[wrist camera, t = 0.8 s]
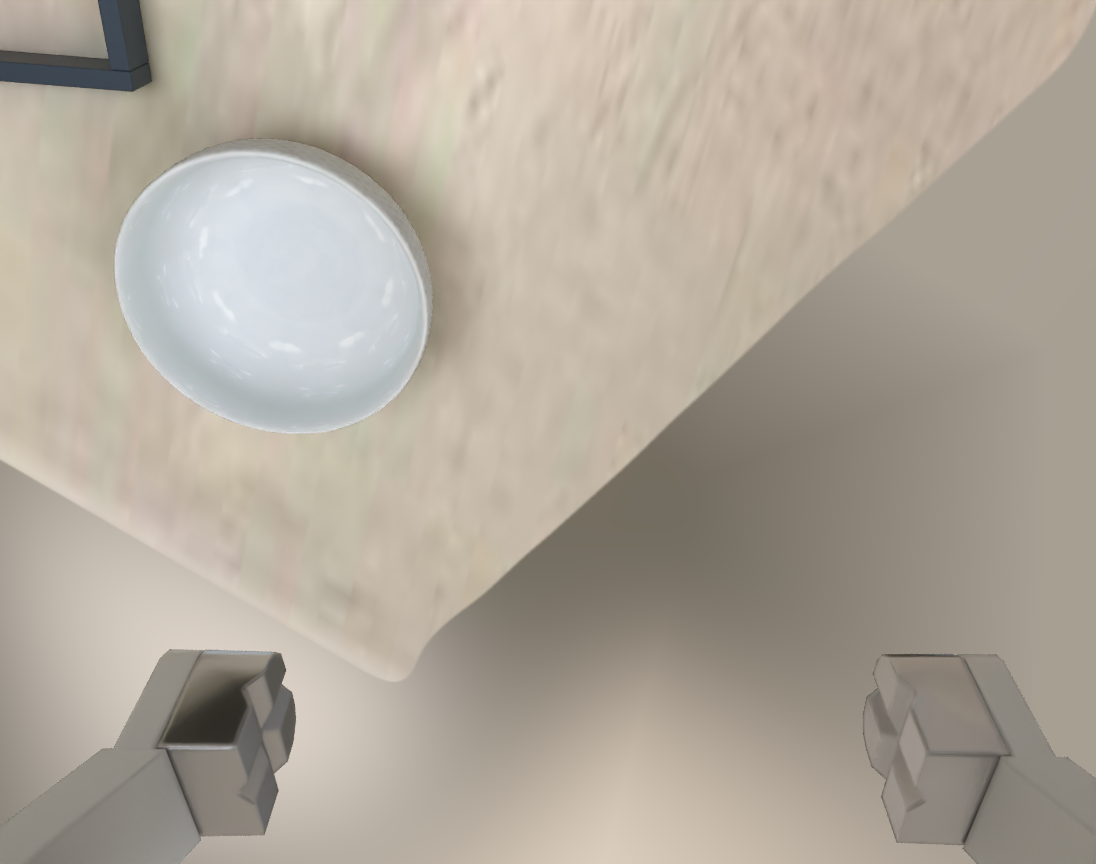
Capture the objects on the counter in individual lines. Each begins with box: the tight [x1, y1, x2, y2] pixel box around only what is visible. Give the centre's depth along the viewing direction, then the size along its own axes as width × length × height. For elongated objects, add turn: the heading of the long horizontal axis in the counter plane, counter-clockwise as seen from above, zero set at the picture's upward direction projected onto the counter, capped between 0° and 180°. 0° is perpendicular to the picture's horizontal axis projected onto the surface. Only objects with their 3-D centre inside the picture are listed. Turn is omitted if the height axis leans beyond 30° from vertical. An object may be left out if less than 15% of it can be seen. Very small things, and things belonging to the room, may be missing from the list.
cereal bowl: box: [114, 138, 433, 434], centre depth 50 cm, size 17×17×7 cm
